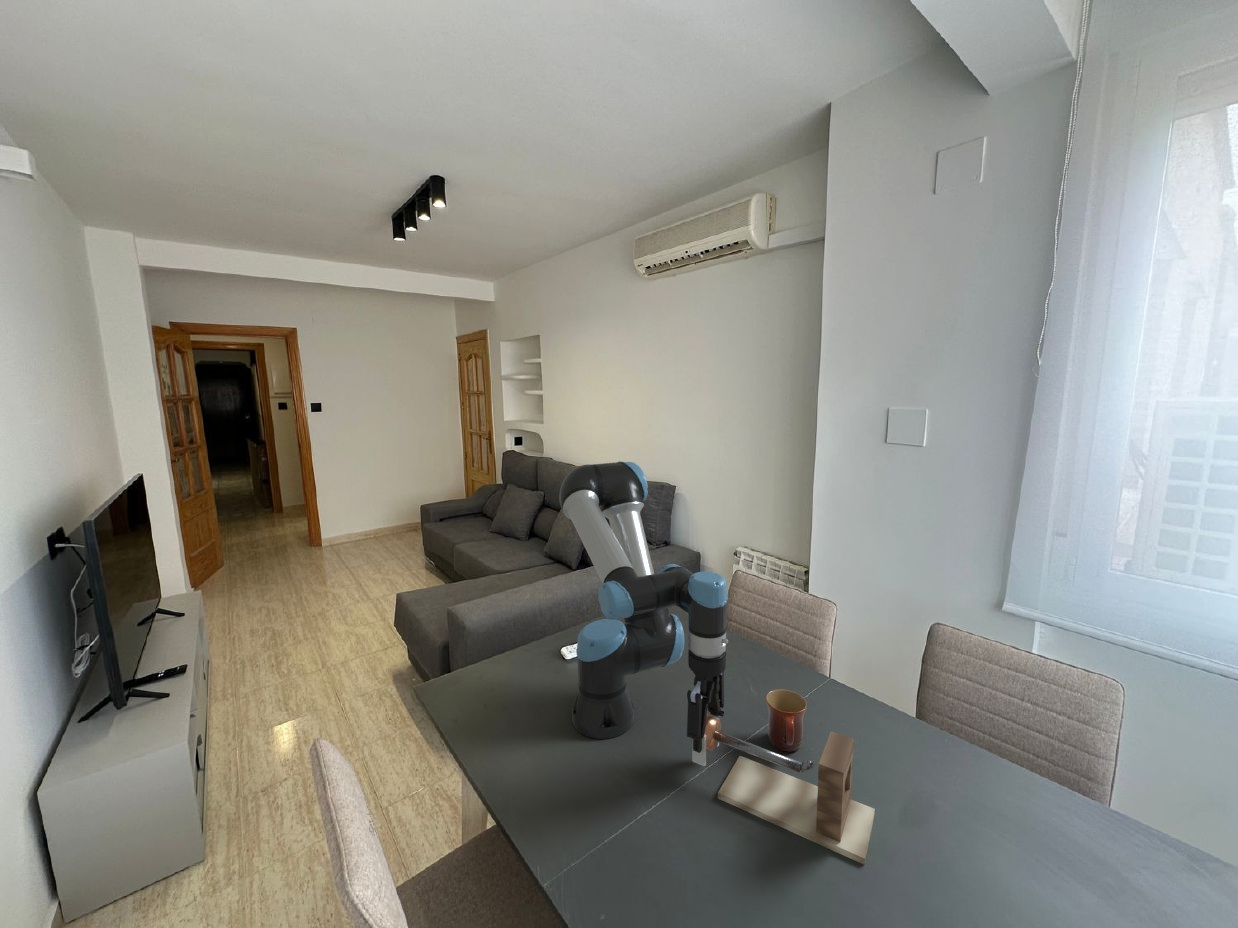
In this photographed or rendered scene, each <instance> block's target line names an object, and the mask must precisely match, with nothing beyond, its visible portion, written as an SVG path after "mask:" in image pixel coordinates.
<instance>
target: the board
mask: <svg viewBox="0 0 1238 928" xmlns="http://www.w3.org/2000/svg"><path fill="white" fill-rule="evenodd" d="M817 794H818V785H815V784H812V783H810V782H808V781H806V780H803V779H800V778H797V777H795V776H792V775H790V774H787V773H785V772H782V771H779V770H777V769H775V768H772V767H770V766H768V765H765V764H762V763H759V762H757V761H754V760H752V759H750V758H747V757H744V756H742V755H739V756H738V758H737V760H736V762H735V763H734V764H733V766H732V768H731V770H730V771H729V773H728V775H727V777H726V779H725V780H724V782H723V783H722V785H721V787H720V789H718V792H717V799H718V800H720V801H723V802H725V803H728V804H729V805H731V806H734V807H736V808H737V809H740V810H743V811H745V812H747V813H749V814H751V815H753V816H756V817H758V818H760V819H762V820H765V821H767V822H769V823H771V824H774V825H776V826H777V827H780V828H782V829H784V830H787V831H788V832H791V833H792V834H795V835H798V836H800V837H802V838H804V839H807V840H808V841H811V842H813V843H815V844H818V845H819V846H822V847H824V848H826V849H829V851H833V852H835V853H836V854H837V853H838V854H840V855H842V856H843V857H846V858H848V859H850V860H853V861H855V862H857V863H859V864H861V865H864V866H865V864H866V859H867V854H868V849H869V843H870V839H871V835H872V829H873V824H874V819H875V810H876V809H875V808H873V807H871V806H868V805H867V804H863V803H861V802H858V801H856V800H853V799H851V803H850V807H849V811H848V815H847V819H846V823H845V826H844V830H843V834H842V838H841V842H837V841H835V840H833V839H831V838H828V837H826V836H824V835H822V834H819V833H817V832H816V818H817Z"/></svg>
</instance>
